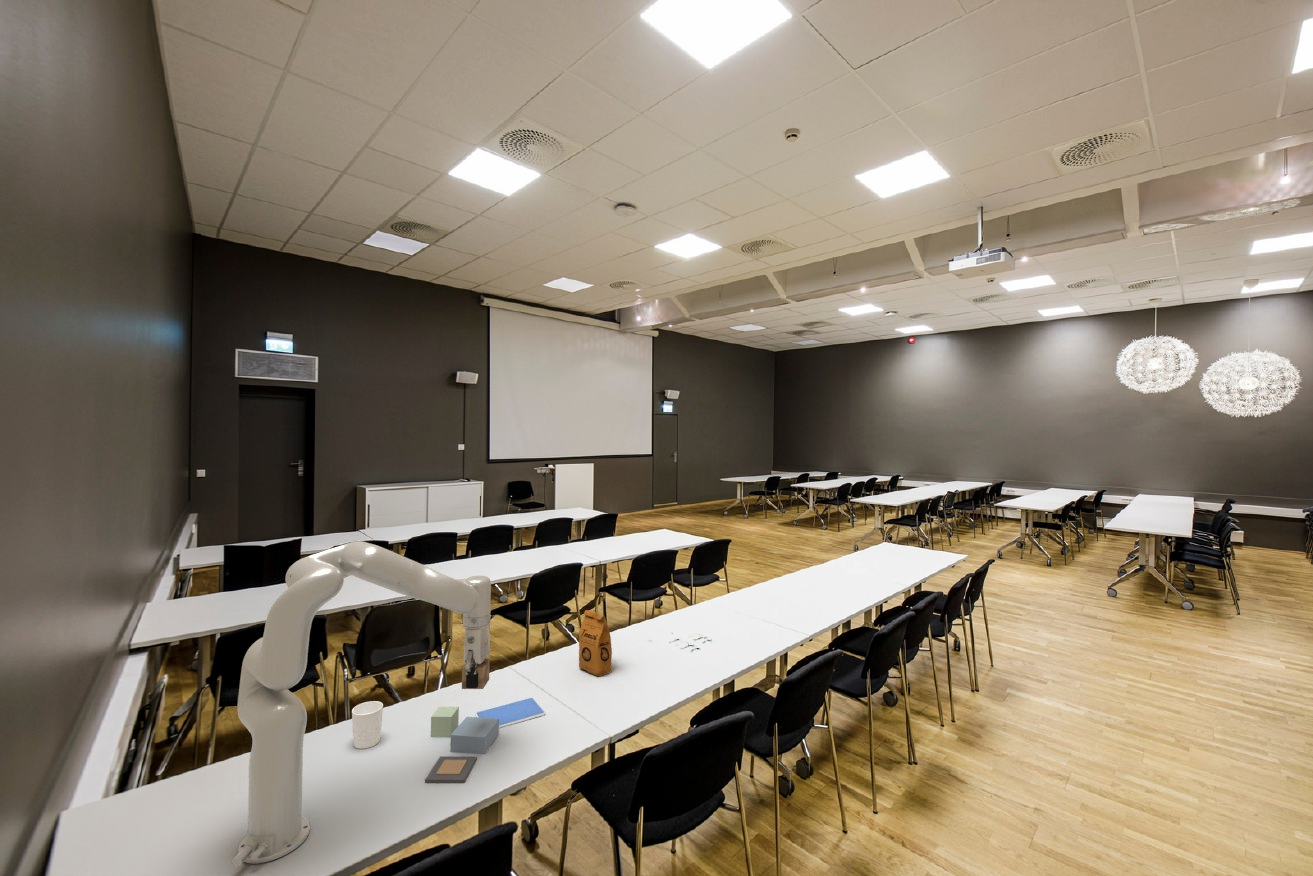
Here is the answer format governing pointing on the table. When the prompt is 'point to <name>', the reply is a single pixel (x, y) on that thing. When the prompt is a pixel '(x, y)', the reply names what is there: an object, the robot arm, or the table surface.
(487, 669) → the walnut cube
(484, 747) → the base block
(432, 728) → the sage cube
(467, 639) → the robot arm
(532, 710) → the tablet computer
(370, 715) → the white cup
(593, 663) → the coffee package
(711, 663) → the table surface
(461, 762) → the tile
